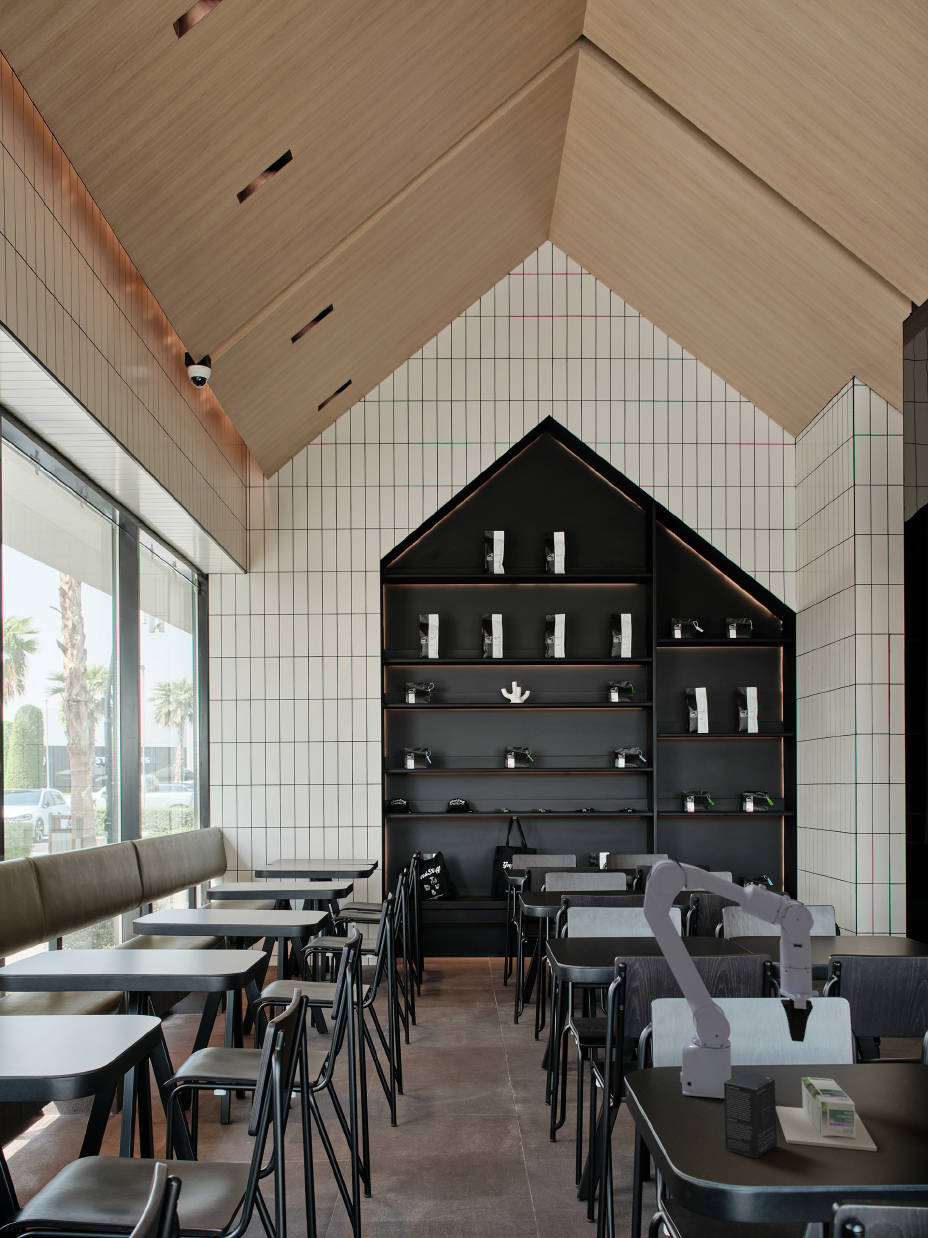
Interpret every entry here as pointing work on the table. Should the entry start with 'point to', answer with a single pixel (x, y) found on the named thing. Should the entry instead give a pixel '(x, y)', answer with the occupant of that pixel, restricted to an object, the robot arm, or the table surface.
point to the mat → (805, 1132)
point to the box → (750, 1114)
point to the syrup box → (828, 1107)
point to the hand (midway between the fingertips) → (797, 1040)
